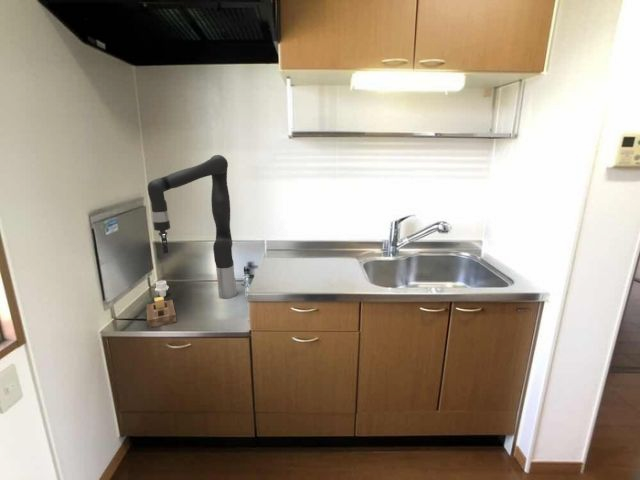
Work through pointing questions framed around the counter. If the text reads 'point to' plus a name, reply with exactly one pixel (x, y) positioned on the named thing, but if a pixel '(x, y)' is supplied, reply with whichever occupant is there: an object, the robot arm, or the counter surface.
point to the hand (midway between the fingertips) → (165, 251)
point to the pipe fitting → (161, 288)
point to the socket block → (160, 314)
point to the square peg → (159, 302)
